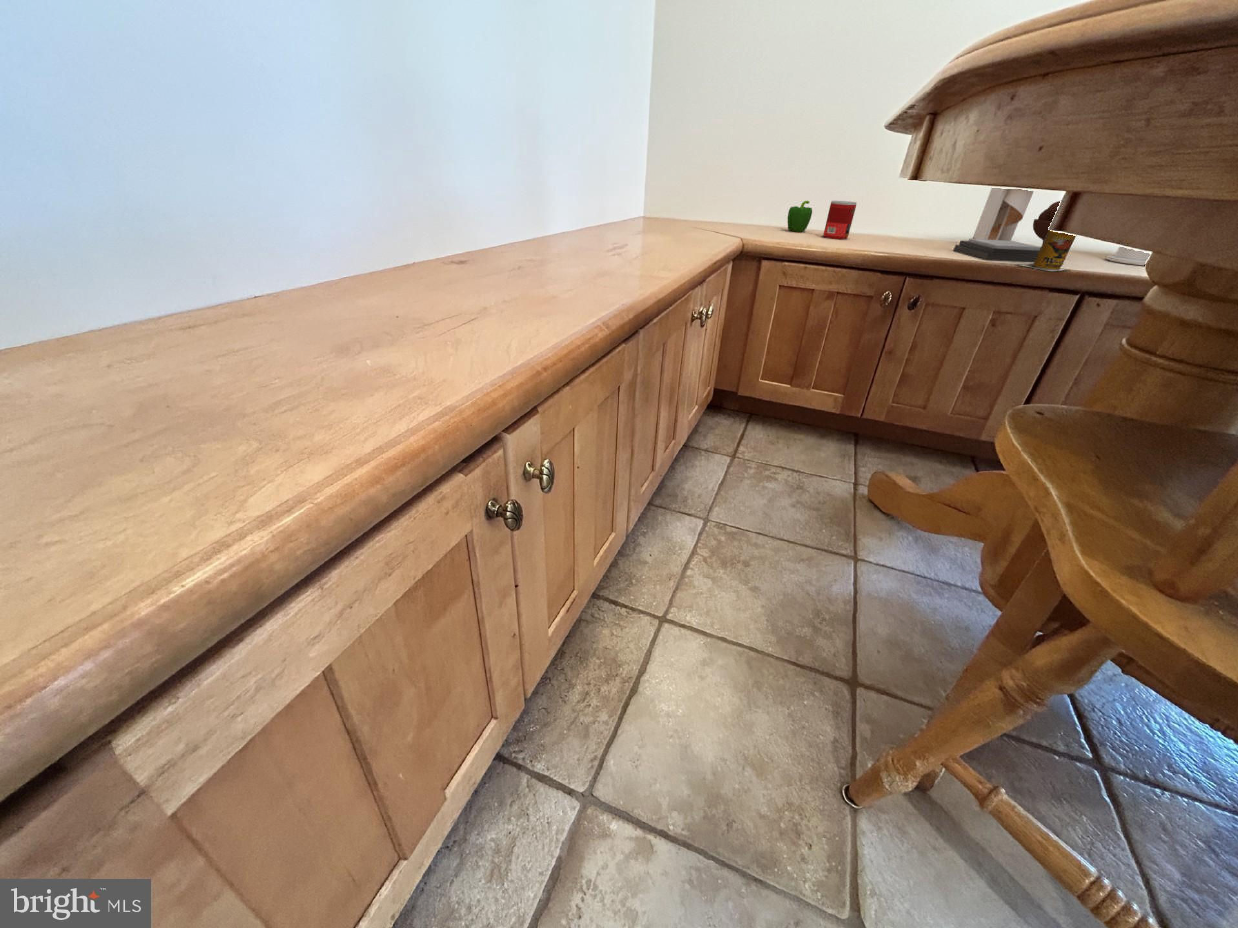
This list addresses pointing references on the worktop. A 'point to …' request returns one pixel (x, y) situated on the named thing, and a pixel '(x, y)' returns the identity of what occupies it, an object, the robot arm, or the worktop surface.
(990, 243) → the scale pan
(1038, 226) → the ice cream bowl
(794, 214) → the bell pepper
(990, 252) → the scale
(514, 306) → the worktop surface
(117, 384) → the worktop surface
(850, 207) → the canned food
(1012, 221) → the display case
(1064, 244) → the condiment
